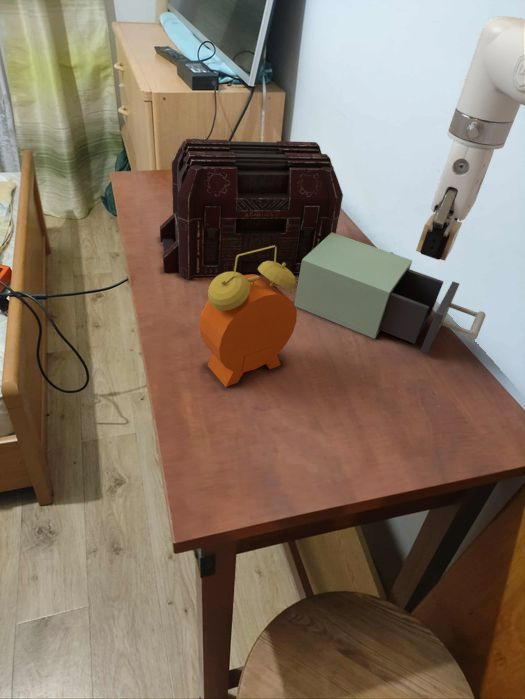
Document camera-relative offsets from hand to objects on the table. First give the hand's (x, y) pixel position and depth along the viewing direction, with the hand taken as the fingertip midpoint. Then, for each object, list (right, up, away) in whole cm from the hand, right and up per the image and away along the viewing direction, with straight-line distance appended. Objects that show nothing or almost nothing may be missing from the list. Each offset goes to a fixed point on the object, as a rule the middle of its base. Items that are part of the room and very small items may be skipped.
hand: (435, 248), depth 79 cm
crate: (-30, +4, +25) cm, 39 cm away
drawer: (-1, -12, +10) cm, 15 cm away
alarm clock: (-30, -18, -1) cm, 35 cm away
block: (0, 0, 0) cm, 0 cm away
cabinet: (-11, -8, +14) cm, 20 cm away
